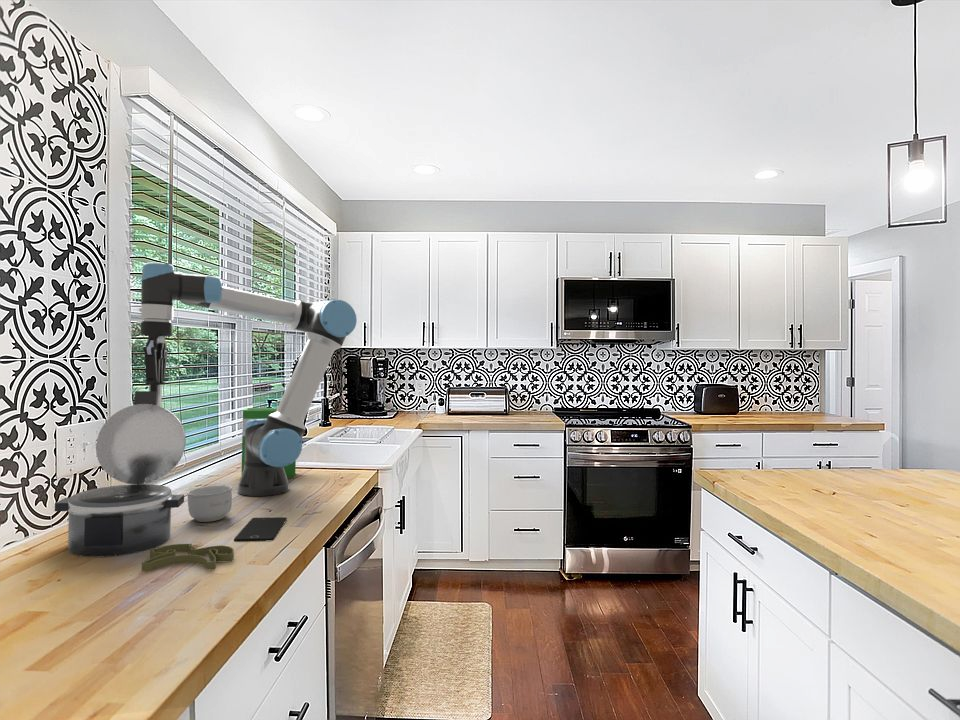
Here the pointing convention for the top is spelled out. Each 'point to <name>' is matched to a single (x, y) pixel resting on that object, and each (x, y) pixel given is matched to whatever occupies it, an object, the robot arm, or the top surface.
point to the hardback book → (254, 415)
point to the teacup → (210, 502)
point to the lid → (141, 441)
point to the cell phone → (261, 529)
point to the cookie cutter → (187, 556)
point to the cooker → (119, 519)
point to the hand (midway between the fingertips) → (155, 408)
